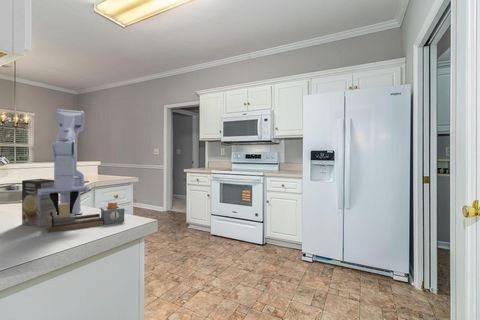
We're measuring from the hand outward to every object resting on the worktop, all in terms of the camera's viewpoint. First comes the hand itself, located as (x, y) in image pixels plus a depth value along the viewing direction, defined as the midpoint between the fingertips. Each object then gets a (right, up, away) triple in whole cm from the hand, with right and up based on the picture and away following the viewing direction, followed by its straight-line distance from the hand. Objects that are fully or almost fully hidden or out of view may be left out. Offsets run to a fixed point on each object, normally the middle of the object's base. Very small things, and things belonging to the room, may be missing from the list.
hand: (64, 213), depth 87 cm
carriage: (0, -3, 0) cm, 3 cm away
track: (+3, -5, +2) cm, 6 cm away
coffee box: (-12, -5, +4) cm, 13 cm away
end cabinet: (+12, -5, +9) cm, 16 cm away
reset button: (+12, -2, +9) cm, 15 cm away
